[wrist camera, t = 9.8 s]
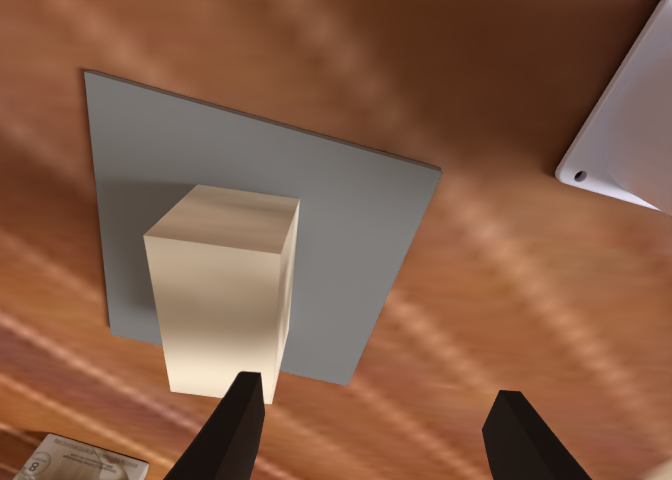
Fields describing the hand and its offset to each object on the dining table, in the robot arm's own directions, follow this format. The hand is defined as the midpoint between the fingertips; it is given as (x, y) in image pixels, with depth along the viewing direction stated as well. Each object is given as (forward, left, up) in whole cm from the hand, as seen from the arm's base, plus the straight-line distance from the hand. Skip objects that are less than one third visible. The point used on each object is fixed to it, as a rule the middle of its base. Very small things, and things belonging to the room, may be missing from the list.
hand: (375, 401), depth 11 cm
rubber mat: (+6, +3, -9) cm, 12 cm away
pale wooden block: (+6, +3, -9) cm, 11 cm away
